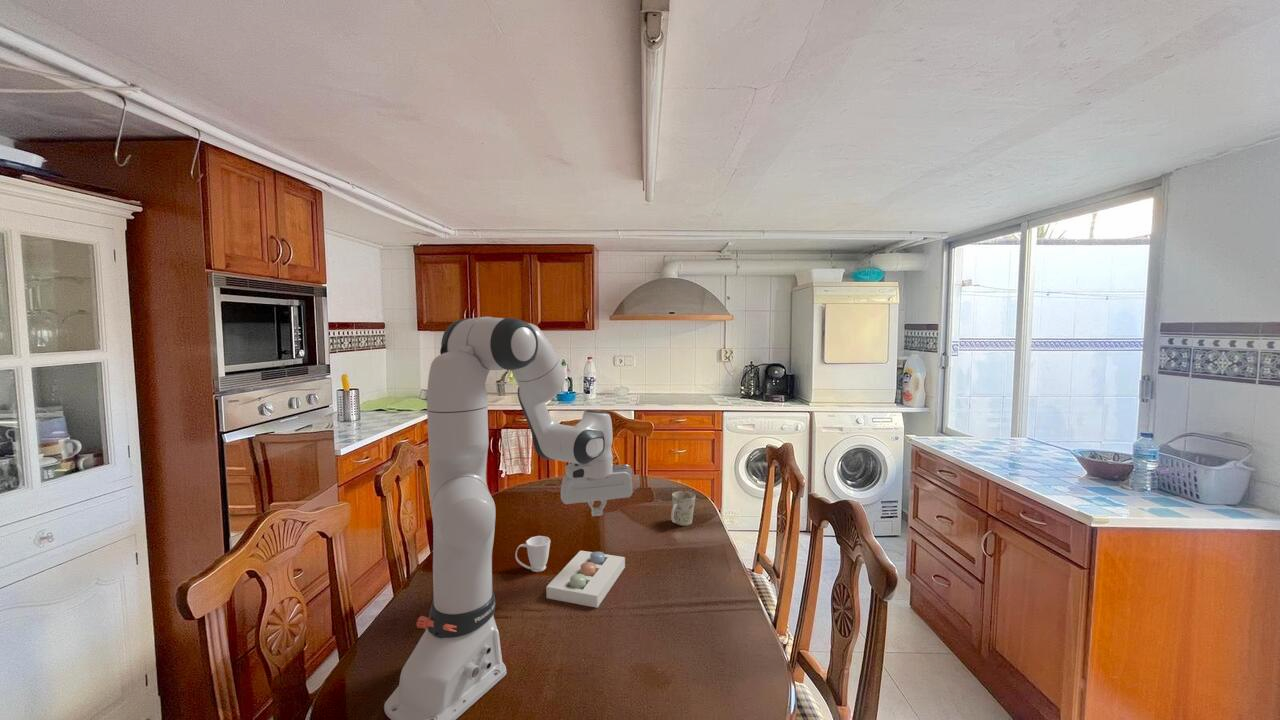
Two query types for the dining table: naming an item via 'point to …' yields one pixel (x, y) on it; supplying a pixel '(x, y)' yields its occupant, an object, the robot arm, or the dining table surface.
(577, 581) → the sage button
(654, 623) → the dining table surface
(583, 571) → the terracotta button
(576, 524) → the dining table surface
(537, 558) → the cup
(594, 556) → the slate button
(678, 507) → the mug
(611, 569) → the button panel
